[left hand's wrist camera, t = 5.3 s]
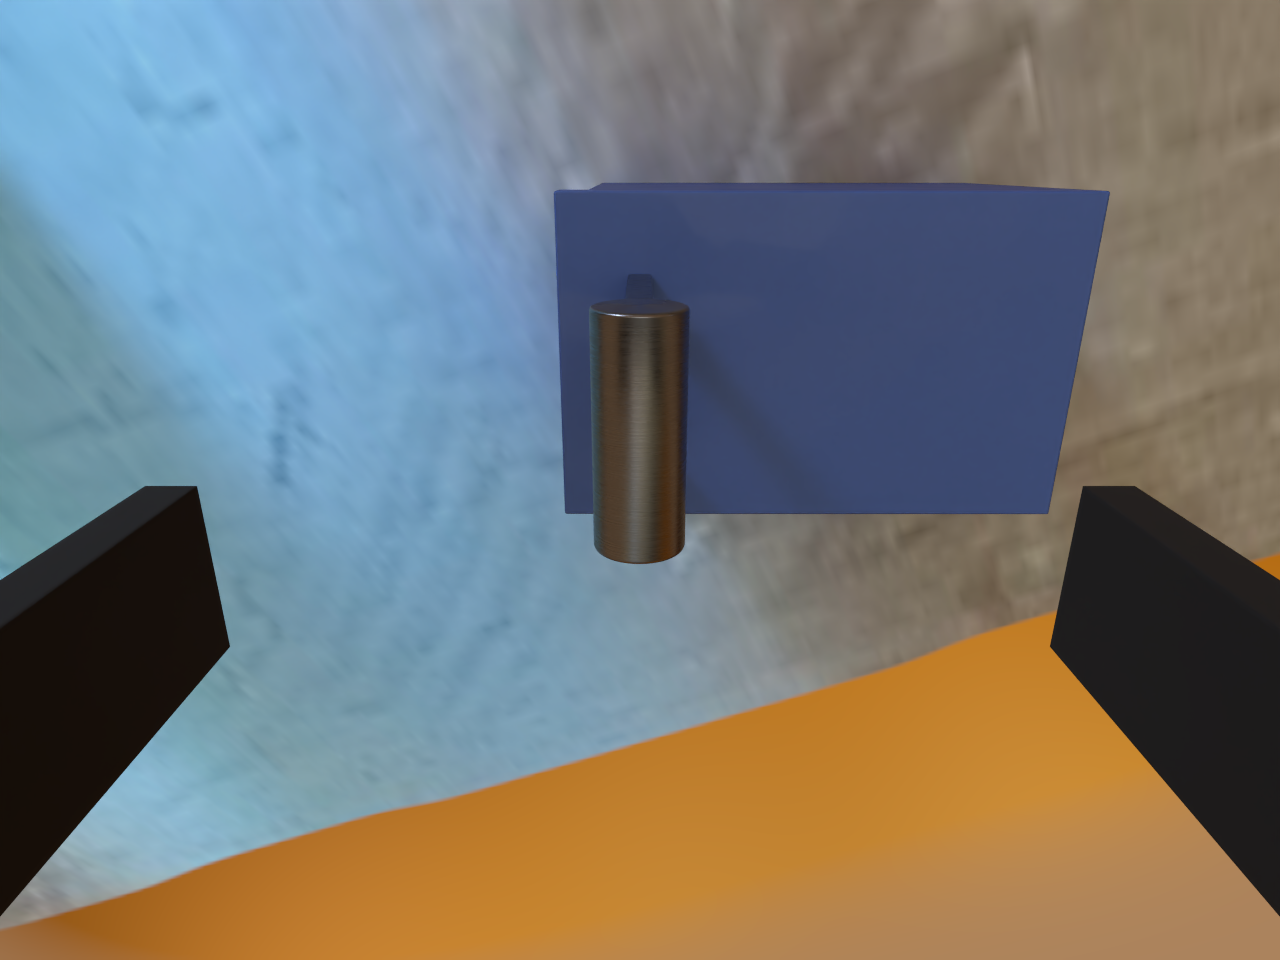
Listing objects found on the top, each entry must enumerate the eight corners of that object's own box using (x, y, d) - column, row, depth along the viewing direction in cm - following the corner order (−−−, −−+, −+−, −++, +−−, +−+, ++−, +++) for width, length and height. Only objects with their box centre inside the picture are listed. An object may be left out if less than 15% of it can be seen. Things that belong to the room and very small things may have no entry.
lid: (568, 500, 28) (536, 646, 20) (557, 189, 25) (513, 203, 16) (1031, 500, 28) (1203, 647, 20) (1089, 189, 25) (1328, 203, 16)
